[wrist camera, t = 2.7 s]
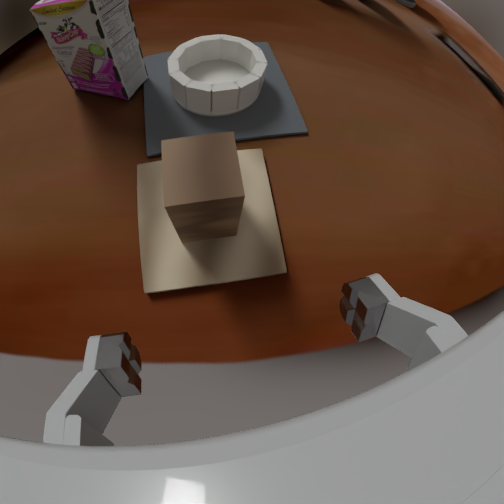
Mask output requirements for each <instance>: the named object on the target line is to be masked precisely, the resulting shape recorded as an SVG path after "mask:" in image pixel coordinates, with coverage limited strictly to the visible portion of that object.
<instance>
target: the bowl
mask: <svg viewBox="0 0 504 504" xmlns="http://www.w3.org/2000/svg"><path fill="white" fill-rule="evenodd" d="M167 61H168V72H169V79H170V85H171V92H172V95H173V97H174V99H175V101H176V102H177V103H178V105H179V106H181V107H182V108H183V109H185V110H187V111H189V112H191V113H194V114H197V115H201V116H209V117H220V116H228V115H232V114H236V113H238V112H241V111H243V110H245V109H247V108H248V107H250V106H251V105H252V104H253V103H254V102H255V101H256V100H257V98H258V97H259V94H260V91H261V88H262V86H263V82H264V77H265V73H266V68H267V60H266V58H265V56H264V54H263V52H262V50H260V48H259V47H257V46H256V45H254V44H253V43H251V42H249V41H248V40H246V39H244V40H243V38H239V37H234V36H229V35H222V36H221V34H219V35H209V36H200V37H199V38H198V37H197V38H194V39H192V40H190V41H188V42H185V43H183V44H181V45H179V46H178V47H177V48H176V49H175V51H174V52H173V53H172V54H171V55H170V57H169V58H168V60H167Z"/></svg>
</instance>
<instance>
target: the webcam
mask: <svg viewBox="0 0 504 504" xmlns="http://www.w3.org/2000/svg"><path fill="white" fill-rule="evenodd" d="M395 1H397V2H399V3H401V4H403V5H405V6H408V7H411V8H414V7H415V5H416V2H415V0H395Z"/></svg>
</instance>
